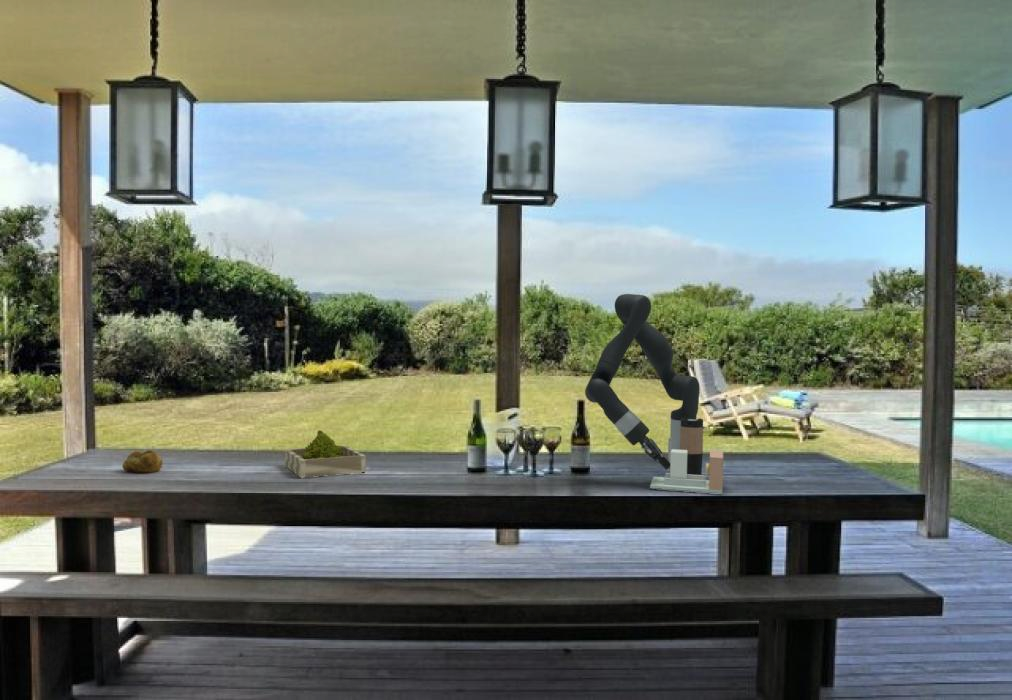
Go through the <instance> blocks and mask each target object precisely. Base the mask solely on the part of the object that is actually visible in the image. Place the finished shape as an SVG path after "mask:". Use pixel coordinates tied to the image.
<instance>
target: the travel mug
mask: <svg viewBox="0 0 1012 700" xmlns="http://www.w3.org/2000/svg"><path fill="white" fill-rule="evenodd" d="M703 445H704V419H703V418H696V420H694V419H692V418H681V428H680V450H687V474H690V475H703V474H702V473H703V472H702V471H703V470H702V469H703V454H704V452H703V451H704V446H703Z"/></svg>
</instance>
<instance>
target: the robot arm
mask: <svg viewBox="0 0 1012 700" xmlns="http://www.w3.org/2000/svg"><path fill="white" fill-rule="evenodd" d="M614 312H615V314H616V316H617V317H618V319H619V320H620V322H621V323H622V324H623V325H624V327H623V328H622V329H621V330H620V332H619V333H617V335H616V336H614V337H613V338H612V339H611V340H610V341H609V342H608V343H607V345H606V346H605V347H604V348H603V350H602V352H601V355H600V357H599V359H598V361H597V364H596V367H595V369H594V372H593V373H592V375H591V377H590V379H589V381H588V383H587V384H586V387H585V389H584V394H585V397H586V399H587V400H588V401H589V402H591V403H594V404H598V405H599V406H600V408H602V410H603V413H604V415H605V417H606V418H607V419H608V420H609V421H610V422H611V423H612V424H613V425H614V427H615V428H616V429H617V430H618V431H619V433H620V434H621V435H622V436H623V437H624V438H625V439H626V440H627V442H629V444H631V445H632V446H636V445H637V444H638V443H639V445H640V446H641V447H640V448H641V449H642V451H644V453H645V454H647V455H648V456H649V457H650V458H652V459H653V460H654V461H655V462H658V463H659V464H660V465H661V467H663V468H664V469H665V470H668V469H669V468H670V463H671V450H672V449H677V450H680V428H681V418H692V419H694V420H697V414H698V413H699V412H698V411H699V404H700V403H699V401H700V392H701V391H700V382H699V380H698V378H697V377H696V376H693V375H692V376H691V375H679V374H678V373H676V371H675V370H674V368H673V366H672V363H673V360H674V350H673V347H672V345H670V342H669V341H668V339H667V338H666V337H665V335H664V334H663V333H661V331H660V330H658V329H657V328H655V327H654V326H653V325H651V324H650V323H649V322H647V320H648V318H649V317H650V314H651V312H652V303H651V300H650V298H649V297H648V296H646V295H644V294H635V293H634V294H632V293H622V294H620V295H617V298H615V301H614ZM634 340H635V341H636V342H637V344H638V345H639V347H640V349H641V350H642V352H643V355H644V356H645V357H646V358H647V360H648V361H649V363H650V364H651V365H652V368H653V369H654V371H655V372H656V374H657V376H658V378H659V380H660V382H661V384H662V386H663V388H664V390H665V392H666V394H667V395H668V397H669V398H670V399H672V400H675V401H681V402H682V403H681V406H680V407H679V408H677V409H673V410H671V412H670V424H669V425H670V426H669V427H670V430H669V431H670V432H669V433H670V435H669V438H668V441H667V443H668V444H667V446H668V448H667V458H666V457H665V456H664V453H663V451H662V450H661V448H660V447H659V446H658V445H657V443H656V442H655V441H654V440H653V439H652V437H648V436H647V434H648V433H650V428H649V427H648V426H646V424H645V423H644V422H643V421H642V420H641V419H640V418H639V417H638V416H637V415H636V414H635V413H634V412H633V411H632V410H631V409H629V407H628V406H627V405H626V404H625V403H624V402H623V401H622V400H621V399H620V398H619V397H618V395H617V393H616V392H615V391H614V390H613V388H612V387H611V383H612V381H613V379H614V377H616V374H617V372H618V370H619V368H620V366H621V363H622V361H623V359H624V357H625V355H626V354H627V352H628V350H629V348H630V346H631V345H632V343H633V341H634Z"/></svg>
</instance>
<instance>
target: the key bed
mask: <svg viewBox="0 0 1012 700" xmlns="http://www.w3.org/2000/svg"><path fill="white" fill-rule="evenodd" d="M707 475H708V476H709V477H708V478H709V480H708V479H707ZM723 478H724V450H721V449H718V450H717V449H716V450H715V449H710V450H709V462H705V475H704V474H701V475H690V474H687V479H676V478H670V472H665V474H664V476H663V477H662V476H653V477H652V480H651V483H650V485H649V489H650V488H662V489H676V490H691V491H702V492H718V493H722V494H723V485H724V484H723V483H724V482H723V481H724V479H723Z"/></svg>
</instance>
